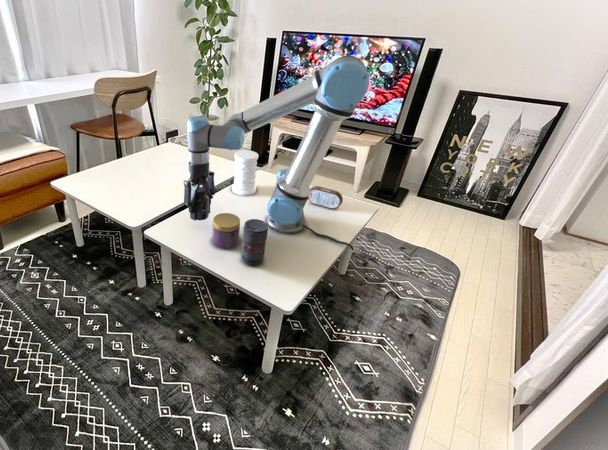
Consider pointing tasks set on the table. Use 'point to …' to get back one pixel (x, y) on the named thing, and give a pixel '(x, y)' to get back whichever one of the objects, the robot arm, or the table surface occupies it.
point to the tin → (325, 197)
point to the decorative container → (245, 172)
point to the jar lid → (226, 222)
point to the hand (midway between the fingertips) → (200, 215)
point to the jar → (226, 238)
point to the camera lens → (254, 241)
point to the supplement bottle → (202, 204)
